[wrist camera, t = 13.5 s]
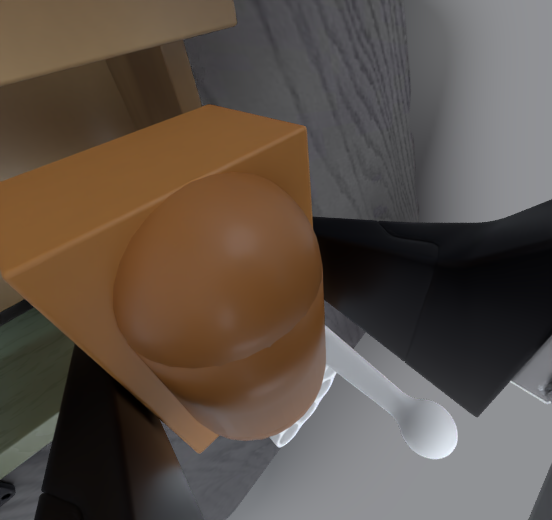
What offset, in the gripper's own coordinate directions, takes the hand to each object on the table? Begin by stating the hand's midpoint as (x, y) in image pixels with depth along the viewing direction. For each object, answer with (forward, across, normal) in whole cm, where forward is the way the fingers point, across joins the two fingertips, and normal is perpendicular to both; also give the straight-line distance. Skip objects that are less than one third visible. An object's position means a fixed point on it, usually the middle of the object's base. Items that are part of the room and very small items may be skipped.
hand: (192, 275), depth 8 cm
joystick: (+12, -12, +25) cm, 30 cm away
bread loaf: (+1, 0, 0) cm, 1 cm away
